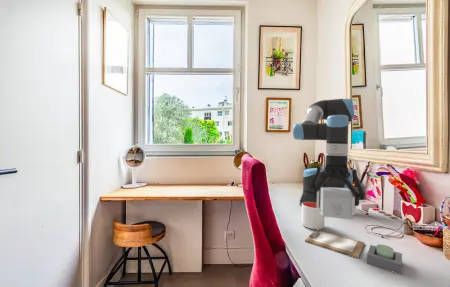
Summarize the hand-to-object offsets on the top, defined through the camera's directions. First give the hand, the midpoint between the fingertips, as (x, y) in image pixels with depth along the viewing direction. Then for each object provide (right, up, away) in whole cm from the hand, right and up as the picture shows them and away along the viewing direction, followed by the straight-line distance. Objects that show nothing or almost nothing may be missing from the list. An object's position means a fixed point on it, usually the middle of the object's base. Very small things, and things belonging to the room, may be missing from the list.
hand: (335, 210), depth 83 cm
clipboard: (0, -13, 0) cm, 13 cm away
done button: (+9, -11, -13) cm, 20 cm away
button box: (+9, -13, -13) cm, 21 cm away
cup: (-2, -13, +16) cm, 21 cm away
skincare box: (0, -2, 0) cm, 2 cm away
